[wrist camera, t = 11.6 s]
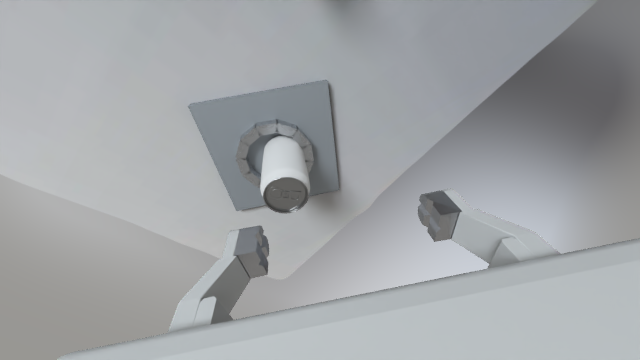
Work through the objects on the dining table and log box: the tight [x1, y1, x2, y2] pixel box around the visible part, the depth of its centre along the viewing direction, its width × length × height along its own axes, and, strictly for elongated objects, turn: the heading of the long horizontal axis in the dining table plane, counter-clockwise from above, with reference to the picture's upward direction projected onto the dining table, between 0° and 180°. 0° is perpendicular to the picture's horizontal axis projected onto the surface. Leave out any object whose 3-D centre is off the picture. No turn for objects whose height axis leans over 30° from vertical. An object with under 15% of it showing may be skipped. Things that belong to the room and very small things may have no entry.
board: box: [188, 80, 339, 211], centre depth 39 cm, size 20×20×1 cm
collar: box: [236, 119, 314, 188], centre depth 37 cm, size 12×12×2 cm
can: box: [260, 136, 310, 213], centre depth 33 cm, size 6×6×12 cm
